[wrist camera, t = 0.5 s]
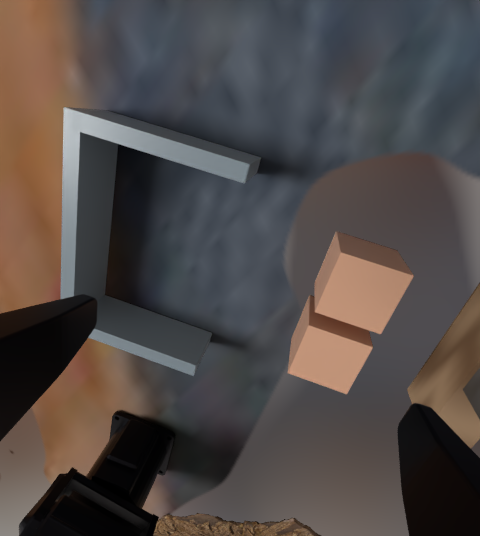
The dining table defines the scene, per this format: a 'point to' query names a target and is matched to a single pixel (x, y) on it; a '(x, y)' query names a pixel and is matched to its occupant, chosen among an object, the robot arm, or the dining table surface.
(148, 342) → the box
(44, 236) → the dining table surface
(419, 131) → the dining table surface
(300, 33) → the dining table surface
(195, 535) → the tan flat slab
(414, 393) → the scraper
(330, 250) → the block
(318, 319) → the block
